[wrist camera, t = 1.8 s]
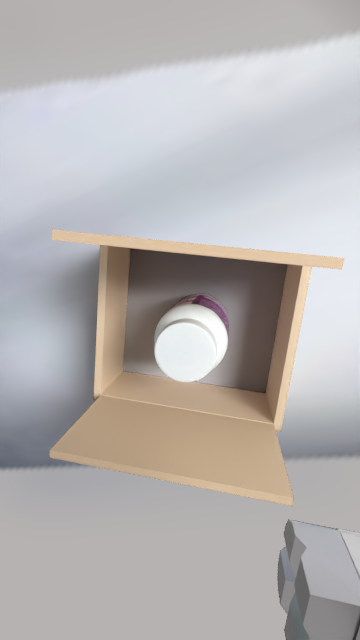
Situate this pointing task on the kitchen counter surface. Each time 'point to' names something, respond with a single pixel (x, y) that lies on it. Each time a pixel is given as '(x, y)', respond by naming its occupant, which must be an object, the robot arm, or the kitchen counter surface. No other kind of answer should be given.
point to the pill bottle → (191, 338)
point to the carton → (186, 390)
